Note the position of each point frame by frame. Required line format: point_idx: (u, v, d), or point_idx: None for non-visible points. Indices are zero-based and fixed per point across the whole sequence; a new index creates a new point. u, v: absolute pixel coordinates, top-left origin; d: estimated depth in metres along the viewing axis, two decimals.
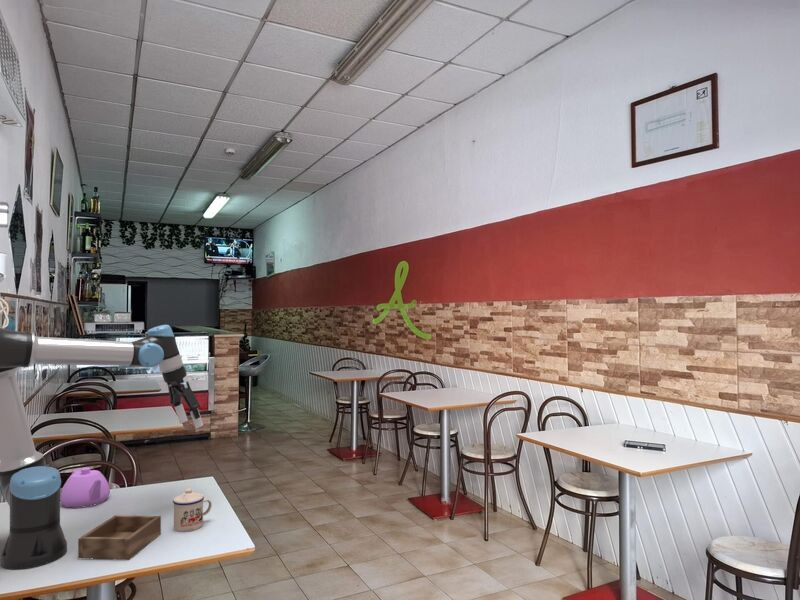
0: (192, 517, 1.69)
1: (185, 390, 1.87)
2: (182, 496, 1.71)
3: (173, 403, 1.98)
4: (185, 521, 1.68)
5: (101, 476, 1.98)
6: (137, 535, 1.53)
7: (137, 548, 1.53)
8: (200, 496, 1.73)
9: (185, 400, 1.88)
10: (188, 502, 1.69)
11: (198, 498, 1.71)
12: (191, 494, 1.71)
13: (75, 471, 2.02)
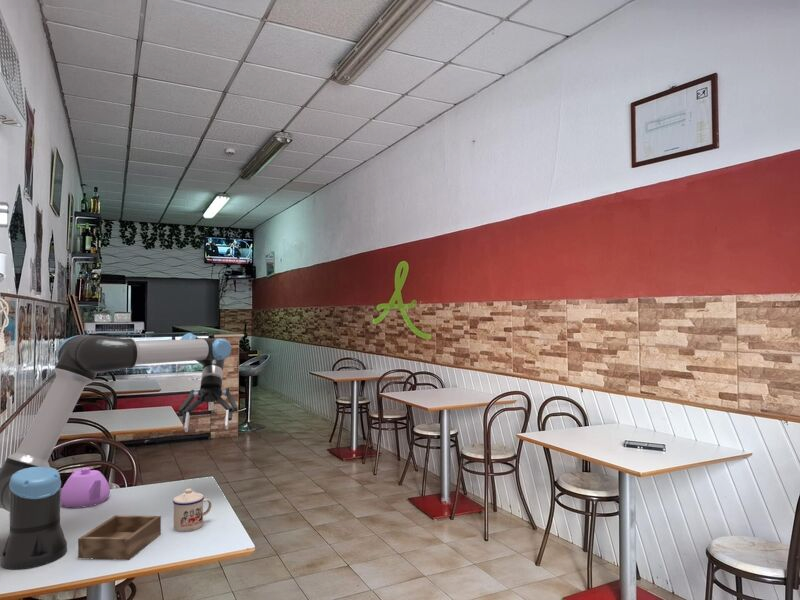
0: (192, 517, 1.69)
1: (230, 394, 2.03)
2: (182, 496, 1.71)
3: (186, 409, 1.96)
4: (185, 521, 1.68)
5: (101, 476, 1.98)
6: (137, 535, 1.53)
7: (137, 548, 1.53)
8: (200, 496, 1.73)
9: (224, 401, 2.00)
10: (188, 502, 1.69)
11: (198, 498, 1.71)
12: (191, 494, 1.71)
13: (75, 471, 2.02)
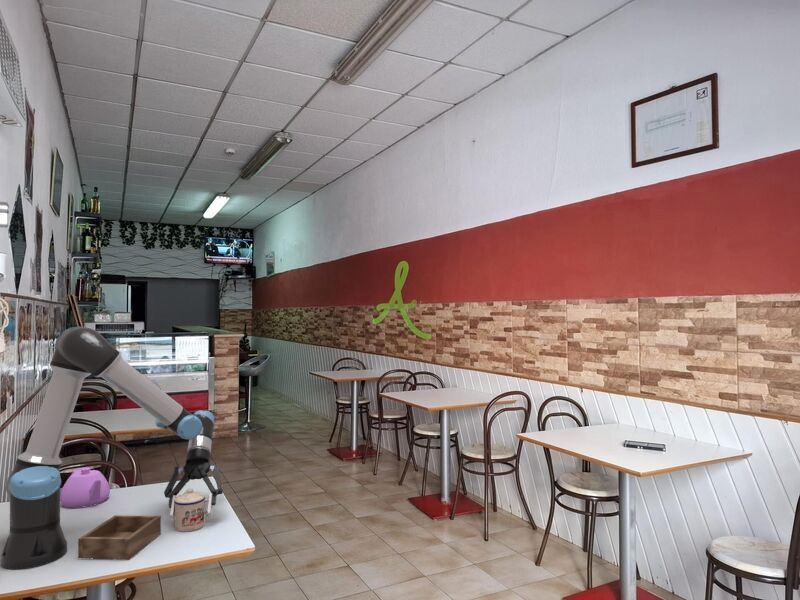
0: (193, 517, 1.69)
1: (217, 471, 1.82)
2: (183, 496, 1.70)
3: (173, 491, 1.74)
4: (187, 521, 1.68)
5: (101, 476, 1.98)
6: (137, 535, 1.53)
7: (137, 548, 1.53)
8: (201, 496, 1.73)
9: (209, 481, 1.78)
10: (190, 502, 1.69)
11: (199, 497, 1.71)
12: (192, 494, 1.71)
13: (75, 471, 2.02)
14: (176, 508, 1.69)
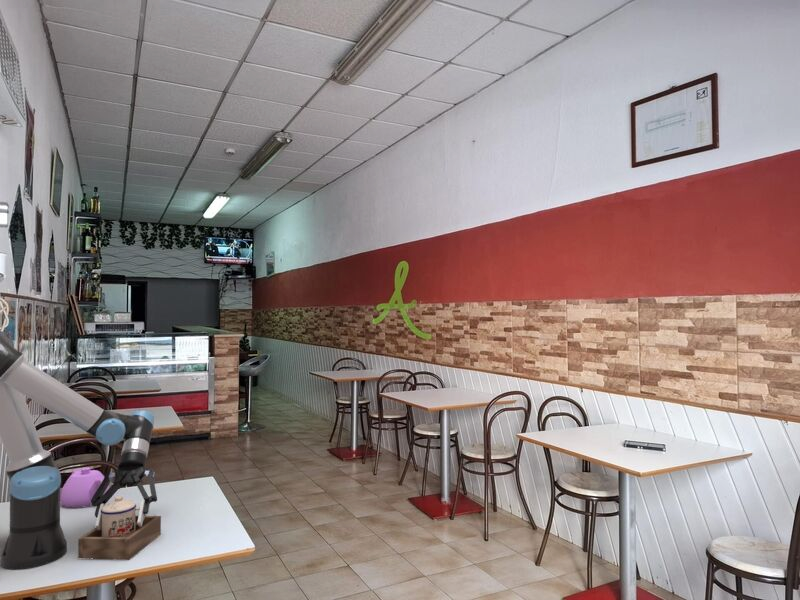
0: (121, 527, 1.54)
1: (152, 477, 1.67)
2: (111, 504, 1.55)
3: (101, 499, 1.59)
4: (114, 532, 1.53)
5: (101, 476, 1.98)
6: (137, 535, 1.53)
7: (137, 548, 1.53)
8: (131, 504, 1.58)
9: (142, 488, 1.63)
10: (117, 511, 1.54)
11: (128, 506, 1.56)
12: (121, 502, 1.56)
13: (75, 471, 2.02)
14: (102, 518, 1.54)
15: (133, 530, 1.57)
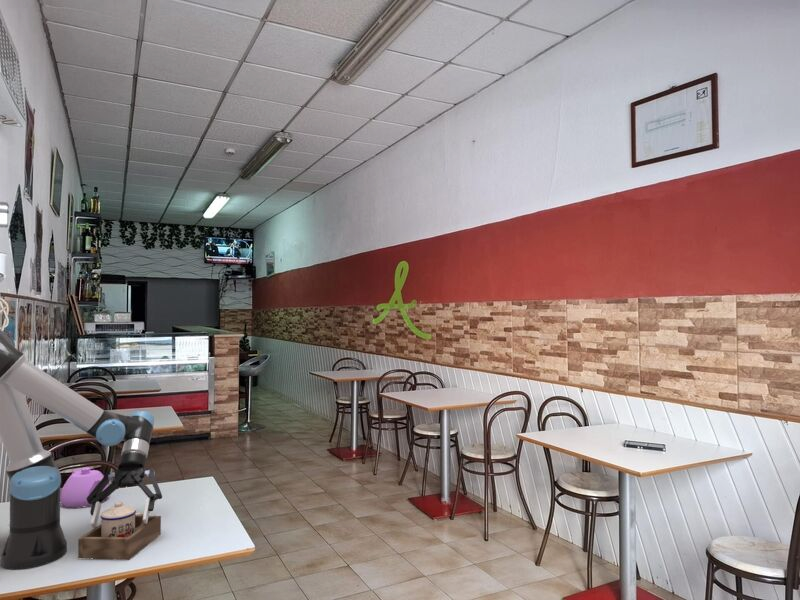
0: (121, 533, 1.54)
1: (154, 476, 1.67)
2: (111, 510, 1.56)
3: (97, 497, 1.59)
4: None
5: (101, 476, 1.98)
6: (137, 535, 1.53)
7: (137, 548, 1.53)
8: (131, 510, 1.58)
9: (145, 486, 1.64)
10: (116, 517, 1.54)
11: (128, 512, 1.56)
12: (121, 508, 1.56)
13: (75, 471, 2.02)
14: (102, 523, 1.54)
15: None
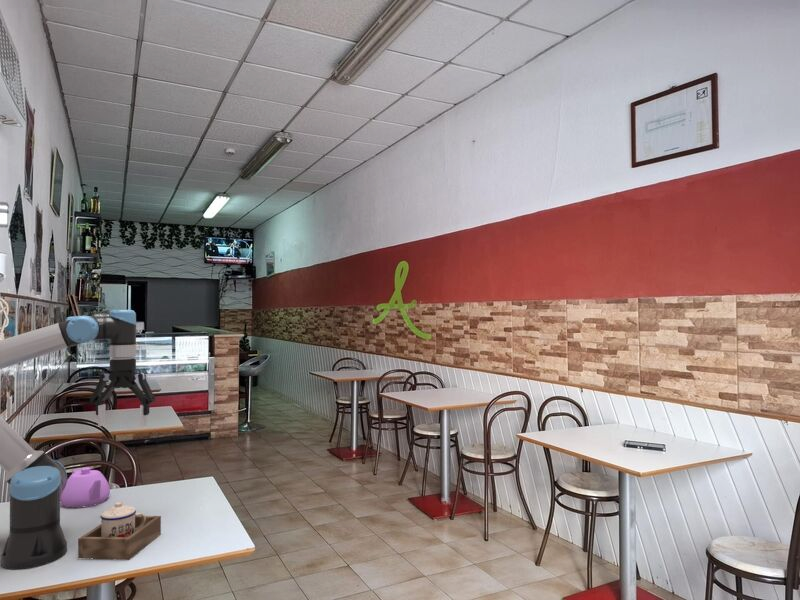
0: (121, 533, 1.54)
1: (143, 381, 1.73)
2: (111, 510, 1.56)
3: (98, 401, 1.73)
4: None
5: (101, 476, 1.98)
6: (137, 535, 1.53)
7: (137, 548, 1.53)
8: (131, 510, 1.58)
9: (137, 393, 1.72)
10: (116, 517, 1.54)
11: (128, 512, 1.56)
12: (121, 508, 1.56)
13: (75, 471, 2.02)
14: (102, 523, 1.54)
15: None
